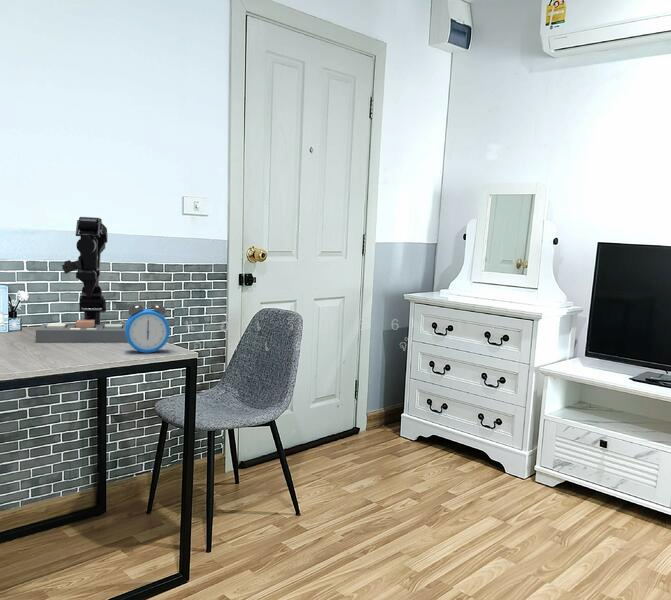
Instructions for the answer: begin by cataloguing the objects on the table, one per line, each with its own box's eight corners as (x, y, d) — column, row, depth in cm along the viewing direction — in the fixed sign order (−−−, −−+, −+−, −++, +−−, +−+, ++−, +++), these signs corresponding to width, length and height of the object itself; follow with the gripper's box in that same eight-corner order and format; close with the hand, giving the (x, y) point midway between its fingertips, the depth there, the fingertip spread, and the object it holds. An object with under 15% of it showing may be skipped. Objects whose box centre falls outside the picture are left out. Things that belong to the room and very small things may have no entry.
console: (42, 335, 211) (42, 323, 211) (129, 336, 219) (129, 324, 219) (35, 342, 199) (35, 329, 198) (127, 342, 207) (127, 330, 206)
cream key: (49, 333, 210) (49, 323, 209) (66, 333, 211) (66, 323, 211) (46, 336, 204) (46, 325, 204) (64, 336, 206) (64, 326, 206)
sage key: (105, 333, 215) (105, 323, 214) (121, 334, 216) (122, 324, 216) (104, 336, 209) (104, 326, 209) (121, 336, 211) (121, 326, 211)
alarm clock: (125, 354, 188) (126, 305, 186) (124, 350, 193) (124, 302, 192) (169, 353, 193) (170, 305, 191) (167, 349, 198) (168, 303, 197)
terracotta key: (77, 329, 212) (77, 319, 212) (94, 329, 213) (94, 319, 213) (75, 332, 207) (75, 321, 206) (92, 332, 208) (93, 322, 208)
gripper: (67, 251, 223) (67, 294, 224) (59, 253, 205) (59, 300, 206) (100, 252, 226) (100, 295, 227) (95, 254, 208) (95, 300, 210)
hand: (88, 297), depth 218 cm, fingers closed
